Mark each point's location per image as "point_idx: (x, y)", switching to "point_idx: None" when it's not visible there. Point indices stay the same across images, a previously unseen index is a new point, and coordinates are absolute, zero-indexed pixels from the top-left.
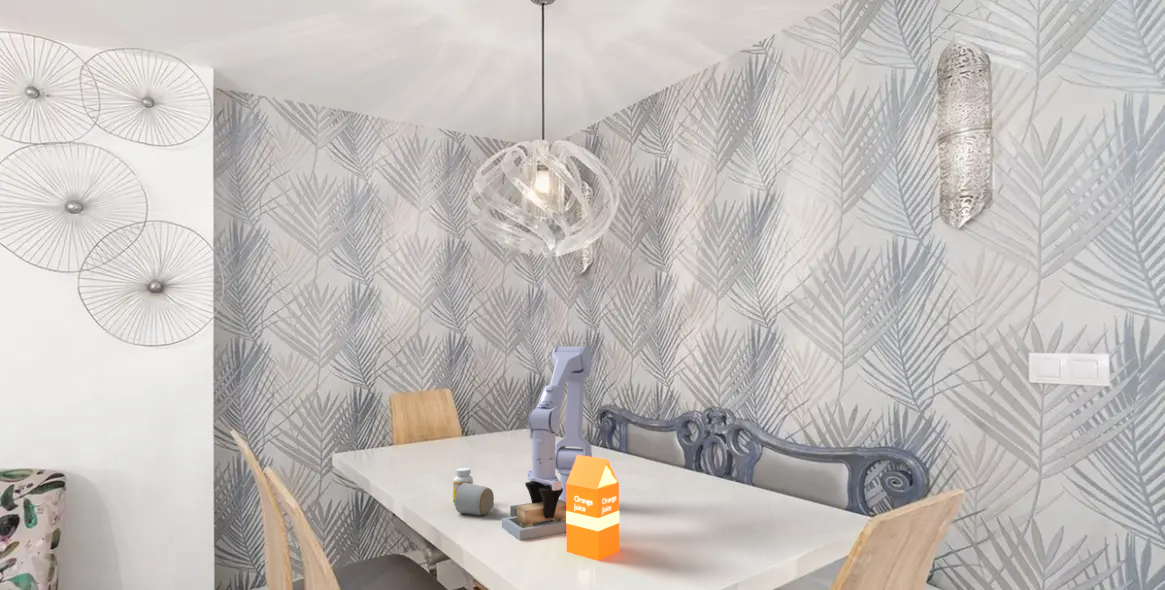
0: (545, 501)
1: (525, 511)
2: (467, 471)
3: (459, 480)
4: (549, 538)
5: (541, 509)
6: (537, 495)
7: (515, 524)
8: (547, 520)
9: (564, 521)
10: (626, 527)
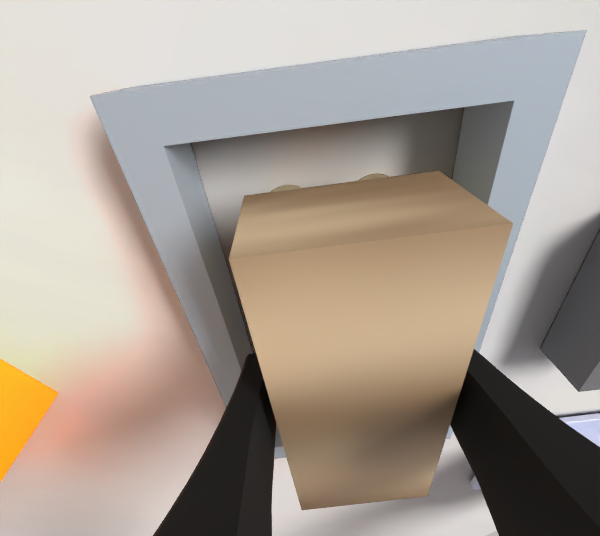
0: (175, 503)
1: (229, 260)
2: None
3: None
4: (145, 280)
5: (269, 390)
6: (506, 472)
7: (304, 114)
8: None
9: None
10: None
